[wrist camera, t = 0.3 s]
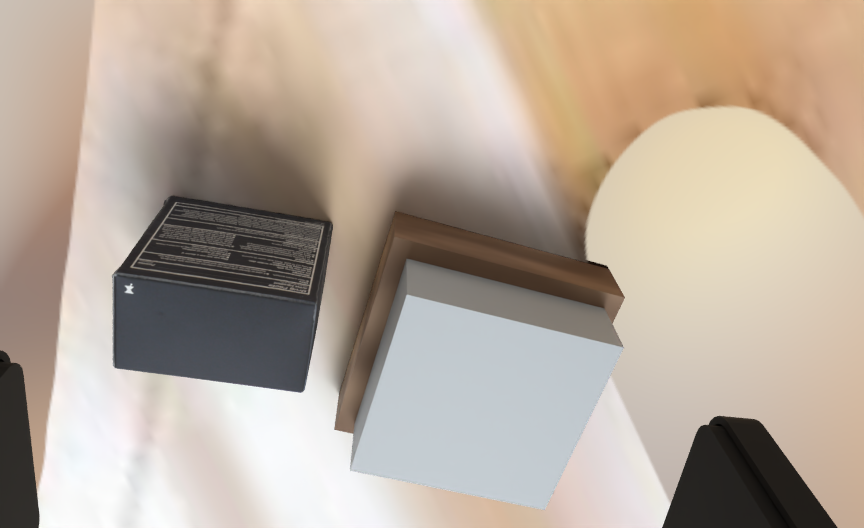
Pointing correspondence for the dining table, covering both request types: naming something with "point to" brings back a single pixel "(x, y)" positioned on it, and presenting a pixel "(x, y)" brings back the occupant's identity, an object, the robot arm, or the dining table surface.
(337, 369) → the dining table surface
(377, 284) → the tower base
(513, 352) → the tower top
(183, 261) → the small box
